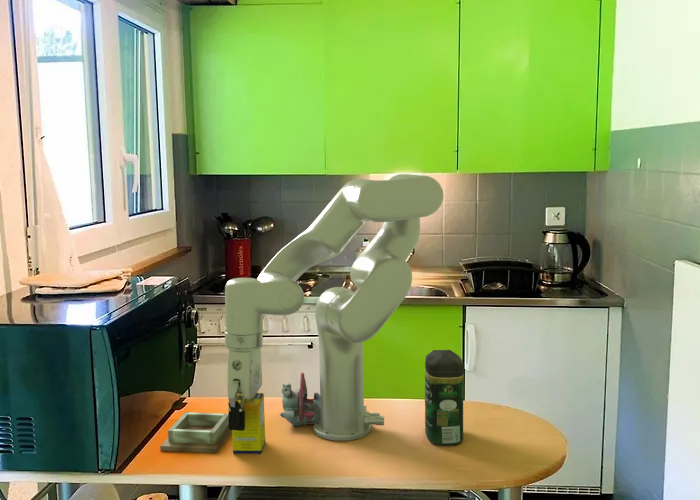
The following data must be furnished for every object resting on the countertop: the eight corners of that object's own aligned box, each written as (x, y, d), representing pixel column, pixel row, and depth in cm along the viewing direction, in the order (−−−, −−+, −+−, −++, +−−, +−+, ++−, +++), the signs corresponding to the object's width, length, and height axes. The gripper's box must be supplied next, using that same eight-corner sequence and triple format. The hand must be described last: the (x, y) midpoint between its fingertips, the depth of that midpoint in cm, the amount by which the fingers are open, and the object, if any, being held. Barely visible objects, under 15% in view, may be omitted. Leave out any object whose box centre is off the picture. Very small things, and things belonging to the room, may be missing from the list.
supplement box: (237, 441, 145) (235, 392, 143) (265, 442, 145) (264, 392, 143) (232, 454, 139) (229, 403, 137) (261, 454, 139) (259, 403, 137)
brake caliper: (332, 417, 149) (296, 376, 148) (294, 447, 151) (258, 407, 150) (334, 399, 161) (301, 361, 160) (299, 427, 162) (266, 389, 161)
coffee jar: (422, 428, 150) (422, 346, 148) (458, 427, 150) (459, 346, 148) (427, 447, 141) (428, 360, 138) (466, 447, 141) (467, 360, 138)
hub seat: (236, 425, 153) (235, 410, 153) (216, 453, 140) (216, 436, 139) (184, 423, 155) (184, 408, 154) (160, 450, 141) (159, 434, 140)
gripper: (250, 352, 129) (250, 438, 131) (272, 329, 146) (271, 406, 148) (212, 350, 130) (212, 436, 132) (237, 328, 147) (237, 404, 149)
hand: (243, 420), depth 140 cm, fingers open, 9 cm apart
